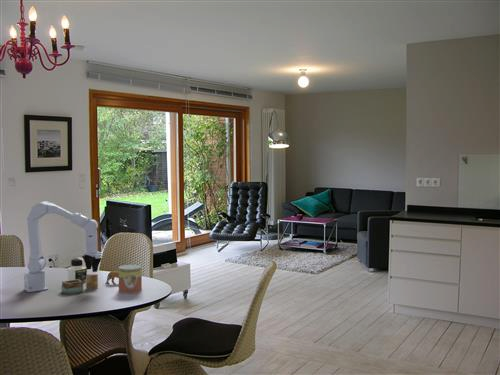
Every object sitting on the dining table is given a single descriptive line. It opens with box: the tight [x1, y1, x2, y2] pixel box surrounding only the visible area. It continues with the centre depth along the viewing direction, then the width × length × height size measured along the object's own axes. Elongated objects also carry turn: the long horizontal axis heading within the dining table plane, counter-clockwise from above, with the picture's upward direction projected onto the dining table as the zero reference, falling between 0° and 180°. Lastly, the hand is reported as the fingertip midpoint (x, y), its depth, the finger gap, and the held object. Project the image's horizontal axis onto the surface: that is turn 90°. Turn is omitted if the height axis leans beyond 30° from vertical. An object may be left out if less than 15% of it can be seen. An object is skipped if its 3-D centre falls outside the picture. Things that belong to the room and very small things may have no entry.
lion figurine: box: [104, 270, 119, 285], centre depth 271 cm, size 15×5×9 cm, turn 130°
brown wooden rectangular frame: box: [61, 279, 84, 289], centre depth 253 cm, size 8×6×2 cm
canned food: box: [117, 264, 143, 295], centre depth 256 cm, size 11×11×12 cm
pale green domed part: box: [61, 285, 84, 295], centre depth 253 cm, size 10×10×2 cm
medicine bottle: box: [67, 257, 88, 283], centre depth 274 cm, size 7×7×12 cm
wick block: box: [85, 273, 99, 291], centre depth 260 cm, size 5×2×7 cm, turn 130°
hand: (91, 270), depth 259 cm, fingers open, 7 cm apart
